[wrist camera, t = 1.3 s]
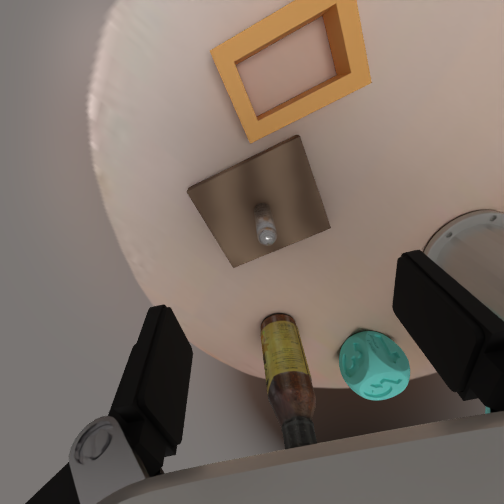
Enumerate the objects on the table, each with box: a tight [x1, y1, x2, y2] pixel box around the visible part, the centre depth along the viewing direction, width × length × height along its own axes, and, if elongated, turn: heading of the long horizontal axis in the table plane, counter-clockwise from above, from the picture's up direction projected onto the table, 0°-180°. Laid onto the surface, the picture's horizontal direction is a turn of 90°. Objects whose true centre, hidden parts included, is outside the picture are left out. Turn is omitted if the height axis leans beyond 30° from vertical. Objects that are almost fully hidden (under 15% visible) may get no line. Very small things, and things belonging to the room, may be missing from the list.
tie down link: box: [210, 0, 372, 144], centre depth 25 cm, size 12×8×4 cm, turn 115°
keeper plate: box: [187, 135, 331, 268], centre depth 30 cm, size 14×12×9 cm
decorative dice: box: [339, 331, 410, 400], centre depth 45 cm, size 8×8×8 cm
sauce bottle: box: [261, 314, 317, 449], centre depth 36 cm, size 7×6×20 cm
